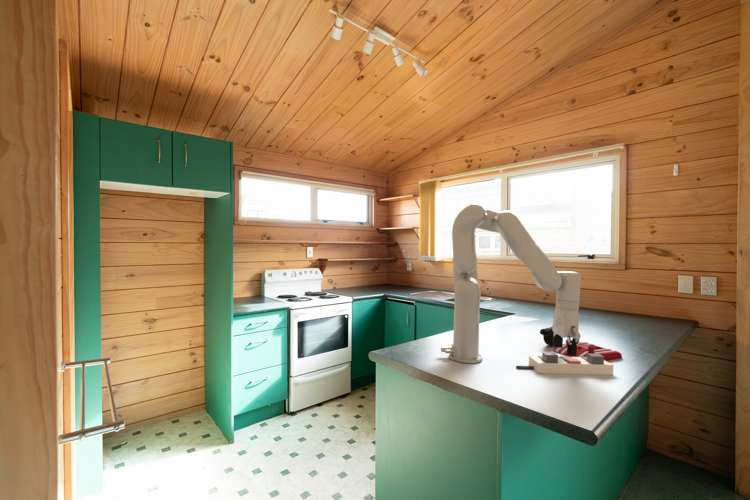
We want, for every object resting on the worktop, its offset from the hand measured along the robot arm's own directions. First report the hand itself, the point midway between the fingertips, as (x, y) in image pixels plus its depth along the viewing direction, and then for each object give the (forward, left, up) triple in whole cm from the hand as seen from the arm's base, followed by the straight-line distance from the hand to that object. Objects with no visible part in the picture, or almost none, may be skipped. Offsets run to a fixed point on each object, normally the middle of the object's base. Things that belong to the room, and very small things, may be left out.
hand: (564, 351), depth 131 cm
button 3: (+9, -5, -3) cm, 10 cm away
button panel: (-2, -3, -6) cm, 7 cm away
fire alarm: (+18, +16, -7) cm, 25 cm away
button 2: (+1, -5, -5) cm, 7 cm away
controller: (+9, +28, -6) cm, 30 cm away
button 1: (-7, -5, -3) cm, 9 cm away
